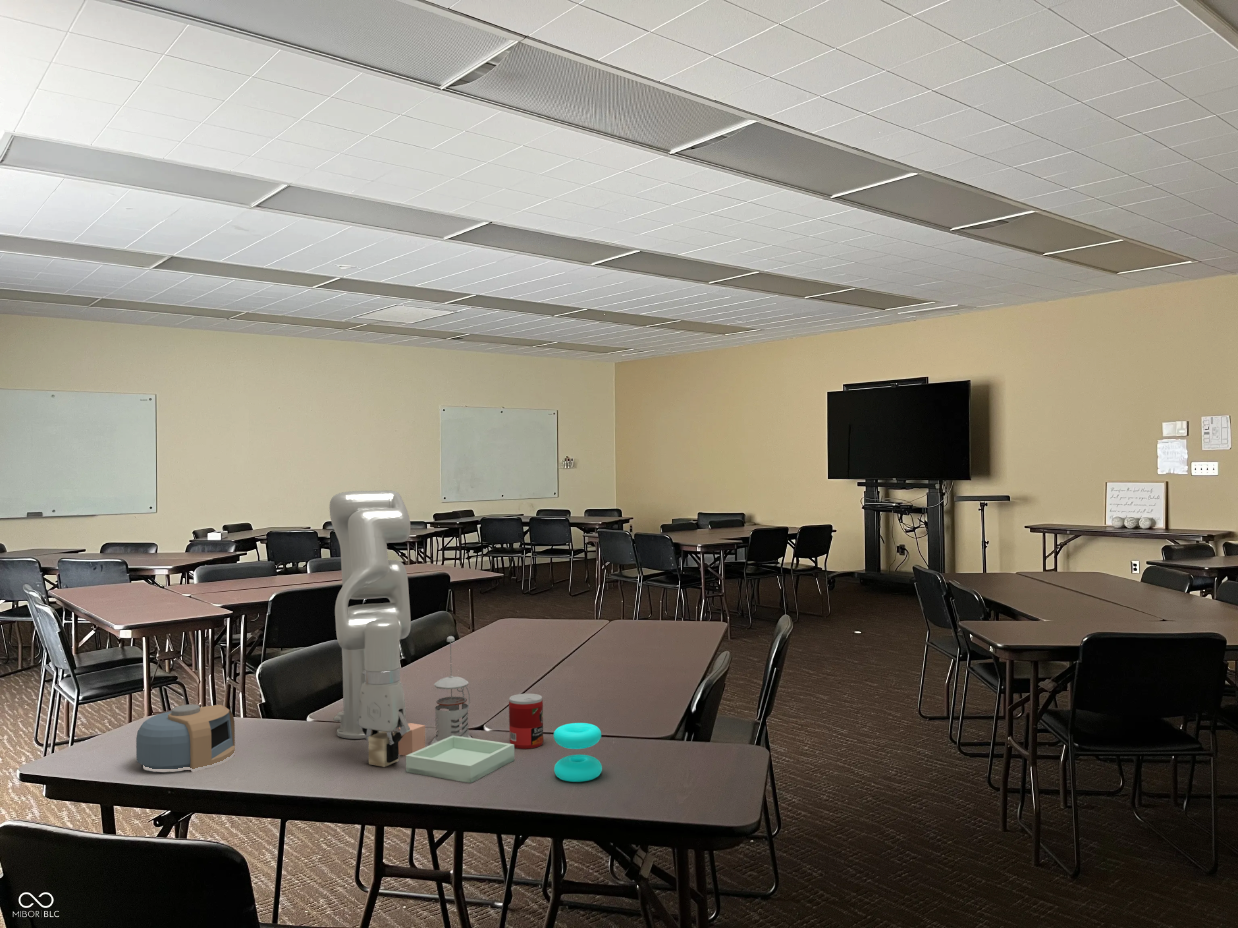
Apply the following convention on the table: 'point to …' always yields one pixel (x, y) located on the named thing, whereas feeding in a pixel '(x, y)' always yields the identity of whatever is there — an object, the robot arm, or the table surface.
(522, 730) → the canned food
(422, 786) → the table surface
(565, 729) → the donuts
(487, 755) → the tray
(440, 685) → the french press
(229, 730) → the alarm clock
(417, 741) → the terracotta block
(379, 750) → the birch block
